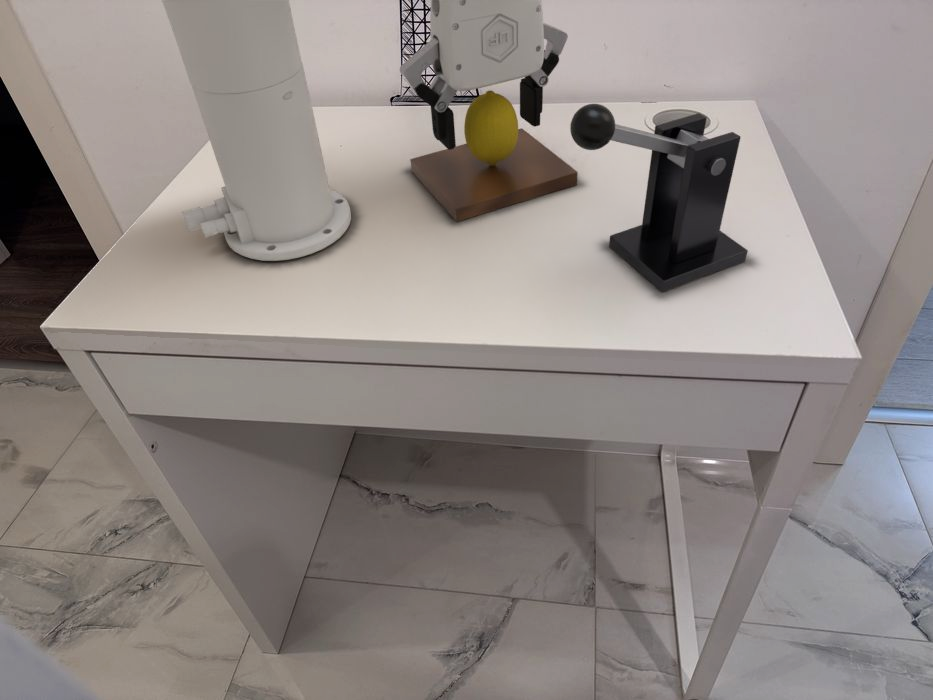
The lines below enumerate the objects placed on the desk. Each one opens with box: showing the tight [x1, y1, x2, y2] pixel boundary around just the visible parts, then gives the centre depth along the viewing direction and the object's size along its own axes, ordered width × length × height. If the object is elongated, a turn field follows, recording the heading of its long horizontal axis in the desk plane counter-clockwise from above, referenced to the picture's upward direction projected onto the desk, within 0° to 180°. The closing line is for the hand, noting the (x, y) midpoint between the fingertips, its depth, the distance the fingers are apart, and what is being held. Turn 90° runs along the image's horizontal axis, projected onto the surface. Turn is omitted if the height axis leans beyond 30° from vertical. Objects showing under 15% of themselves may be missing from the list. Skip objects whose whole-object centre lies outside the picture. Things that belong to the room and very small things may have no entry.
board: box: [409, 128, 578, 223], centre depth 74 cm, size 14×12×2 cm
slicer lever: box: [569, 103, 709, 168], centre depth 53 cm, size 14×3×3 cm, turn 116°
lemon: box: [463, 90, 519, 166], centre depth 71 cm, size 6×6×8 cm
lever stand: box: [608, 112, 749, 293], centre depth 59 cm, size 9×8×12 cm
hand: (488, 132), depth 71 cm, fingers open, 9 cm apart
